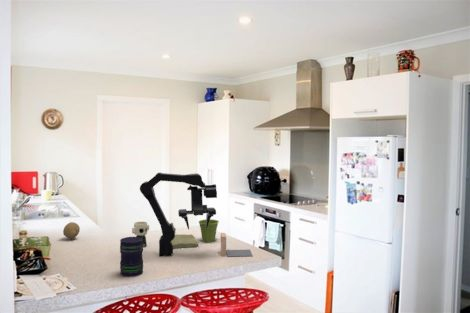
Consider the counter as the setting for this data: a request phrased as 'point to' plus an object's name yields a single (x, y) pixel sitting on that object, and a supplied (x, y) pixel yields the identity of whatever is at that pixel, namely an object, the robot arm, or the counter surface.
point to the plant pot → (208, 230)
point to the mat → (239, 253)
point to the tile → (223, 244)
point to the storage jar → (131, 256)
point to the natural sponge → (71, 230)
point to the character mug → (141, 230)
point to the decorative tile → (184, 241)
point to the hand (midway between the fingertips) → (197, 228)
